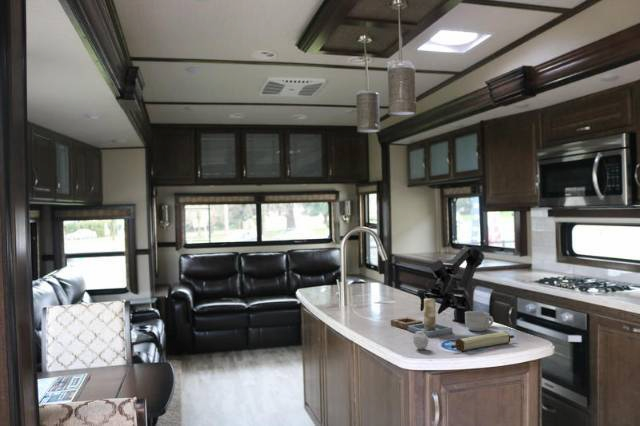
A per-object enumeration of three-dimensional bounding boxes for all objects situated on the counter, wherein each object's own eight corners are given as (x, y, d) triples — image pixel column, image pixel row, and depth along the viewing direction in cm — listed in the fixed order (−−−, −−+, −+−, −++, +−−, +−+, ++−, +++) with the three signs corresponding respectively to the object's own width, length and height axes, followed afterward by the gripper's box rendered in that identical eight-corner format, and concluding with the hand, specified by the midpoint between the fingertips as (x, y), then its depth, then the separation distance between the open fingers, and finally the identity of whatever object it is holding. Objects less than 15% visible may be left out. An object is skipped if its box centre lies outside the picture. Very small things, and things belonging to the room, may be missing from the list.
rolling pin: (508, 340, 205) (508, 328, 205) (518, 344, 200) (518, 331, 200) (446, 351, 192) (446, 338, 192) (456, 354, 187) (456, 341, 187)
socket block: (422, 326, 233) (422, 321, 233) (405, 329, 227) (405, 324, 227) (408, 322, 242) (407, 317, 242) (390, 325, 237) (390, 319, 237)
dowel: (436, 329, 223) (436, 299, 223) (433, 332, 219) (433, 300, 219) (426, 328, 226) (425, 298, 225) (422, 330, 221) (422, 300, 221)
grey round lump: (425, 346, 199) (424, 329, 199) (431, 351, 192) (431, 333, 192) (410, 347, 198) (410, 330, 198) (416, 352, 191) (416, 334, 191)
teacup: (460, 328, 227) (459, 311, 227) (479, 326, 231) (478, 309, 231) (480, 335, 214) (479, 317, 214) (500, 332, 218) (499, 314, 218)
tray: (452, 332, 220) (452, 327, 220) (428, 337, 213) (428, 332, 213) (430, 326, 232) (430, 322, 232) (407, 330, 225) (407, 326, 225)
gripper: (418, 272, 232) (404, 299, 225) (453, 275, 219) (440, 303, 211) (428, 286, 238) (415, 313, 230) (462, 290, 225) (450, 318, 217)
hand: (429, 312), depth 222 cm, fingers open, 9 cm apart
